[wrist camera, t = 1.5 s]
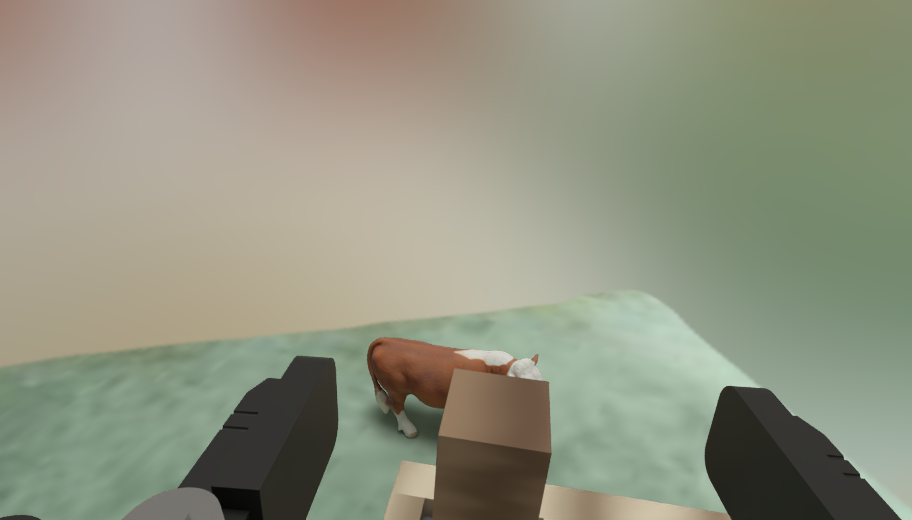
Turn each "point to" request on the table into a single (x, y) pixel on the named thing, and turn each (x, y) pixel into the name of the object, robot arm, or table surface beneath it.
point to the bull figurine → (431, 372)
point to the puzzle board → (562, 510)
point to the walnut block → (492, 448)
